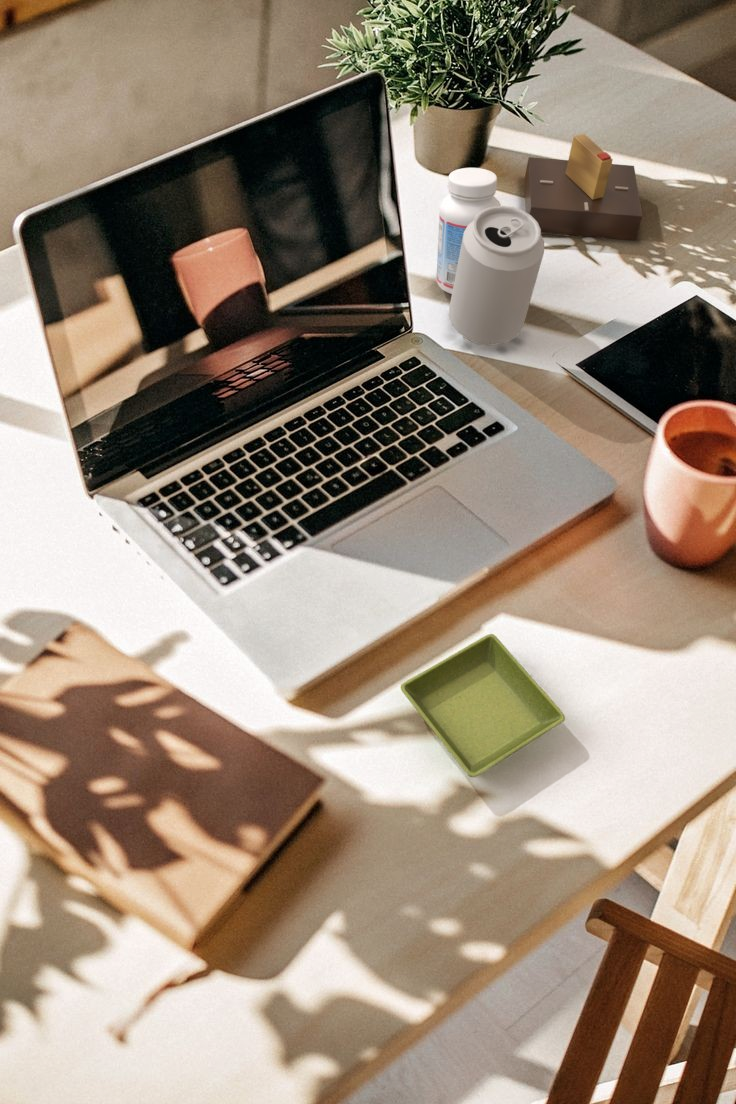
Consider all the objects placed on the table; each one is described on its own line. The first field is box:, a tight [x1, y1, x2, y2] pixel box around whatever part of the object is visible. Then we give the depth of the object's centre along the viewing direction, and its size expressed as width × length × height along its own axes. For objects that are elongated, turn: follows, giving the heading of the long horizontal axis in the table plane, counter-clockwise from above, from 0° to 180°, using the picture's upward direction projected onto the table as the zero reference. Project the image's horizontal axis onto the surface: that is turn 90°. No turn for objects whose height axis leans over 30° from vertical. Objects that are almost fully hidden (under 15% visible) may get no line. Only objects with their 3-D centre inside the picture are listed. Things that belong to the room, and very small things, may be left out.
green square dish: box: [400, 633, 566, 778], centre depth 74 cm, size 9×9×2 cm
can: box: [448, 205, 545, 346], centre depth 97 cm, size 8×8×12 cm
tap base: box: [523, 156, 643, 241], centre depth 115 cm, size 12×10×3 cm
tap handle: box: [566, 133, 613, 200], centre depth 112 cm, size 6×1×5 cm, turn 26°
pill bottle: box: [436, 167, 502, 295], centre depth 102 cm, size 6×6×11 cm
